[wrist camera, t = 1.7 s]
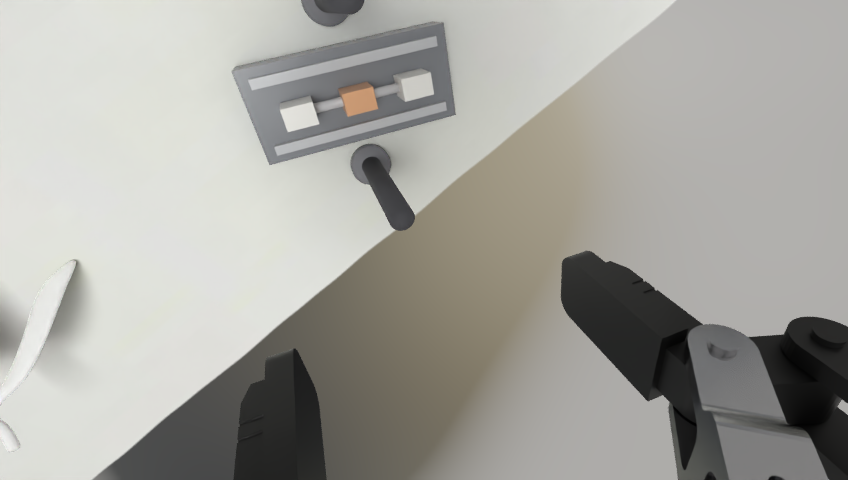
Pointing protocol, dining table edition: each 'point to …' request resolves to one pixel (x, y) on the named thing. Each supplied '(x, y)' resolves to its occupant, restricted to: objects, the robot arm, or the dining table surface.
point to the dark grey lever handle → (382, 184)
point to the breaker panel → (342, 68)
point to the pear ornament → (34, 341)
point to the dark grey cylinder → (331, 10)
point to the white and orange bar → (356, 99)
